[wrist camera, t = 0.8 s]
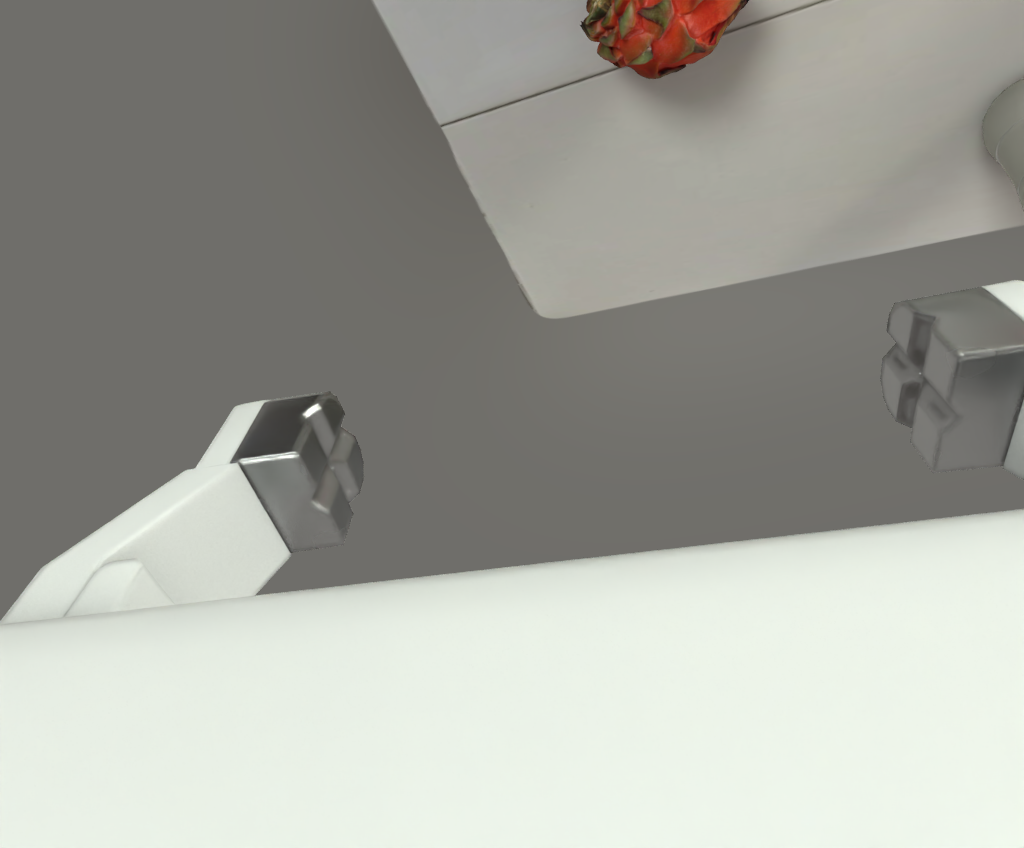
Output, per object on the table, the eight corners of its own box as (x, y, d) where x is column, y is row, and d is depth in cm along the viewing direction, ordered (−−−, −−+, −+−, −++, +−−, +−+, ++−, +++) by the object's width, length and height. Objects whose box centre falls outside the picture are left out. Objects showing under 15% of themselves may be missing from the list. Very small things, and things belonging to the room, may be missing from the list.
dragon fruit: (568, -26, 50) (733, -67, 48) (586, 98, 53) (742, 63, 51) (571, -61, 42) (768, -111, 40) (592, 88, 45) (776, 46, 43)
